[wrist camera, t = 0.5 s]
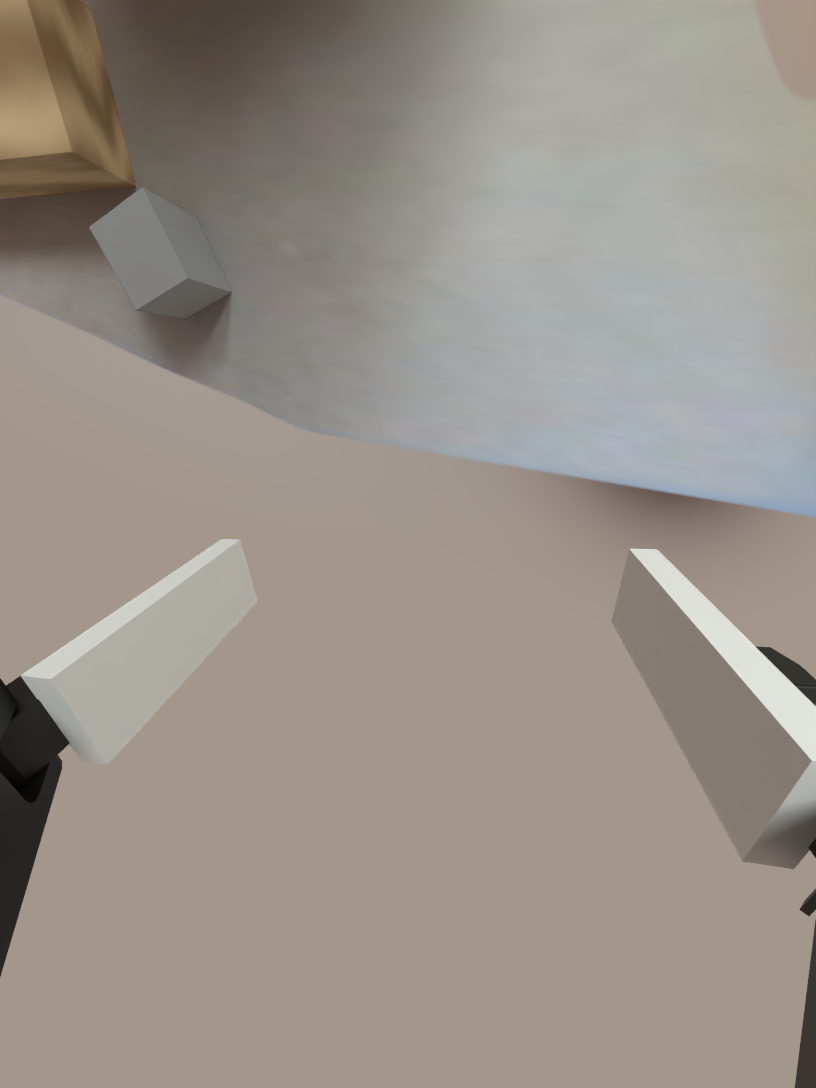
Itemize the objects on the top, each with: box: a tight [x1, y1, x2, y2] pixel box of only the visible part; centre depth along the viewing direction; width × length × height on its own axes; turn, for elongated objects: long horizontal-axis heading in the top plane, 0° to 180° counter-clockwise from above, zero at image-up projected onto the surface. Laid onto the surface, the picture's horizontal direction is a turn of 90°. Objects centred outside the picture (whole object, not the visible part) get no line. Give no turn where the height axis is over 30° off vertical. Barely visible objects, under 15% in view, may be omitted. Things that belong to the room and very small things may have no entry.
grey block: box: [89, 187, 232, 319], centre depth 31 cm, size 6×6×6 cm
